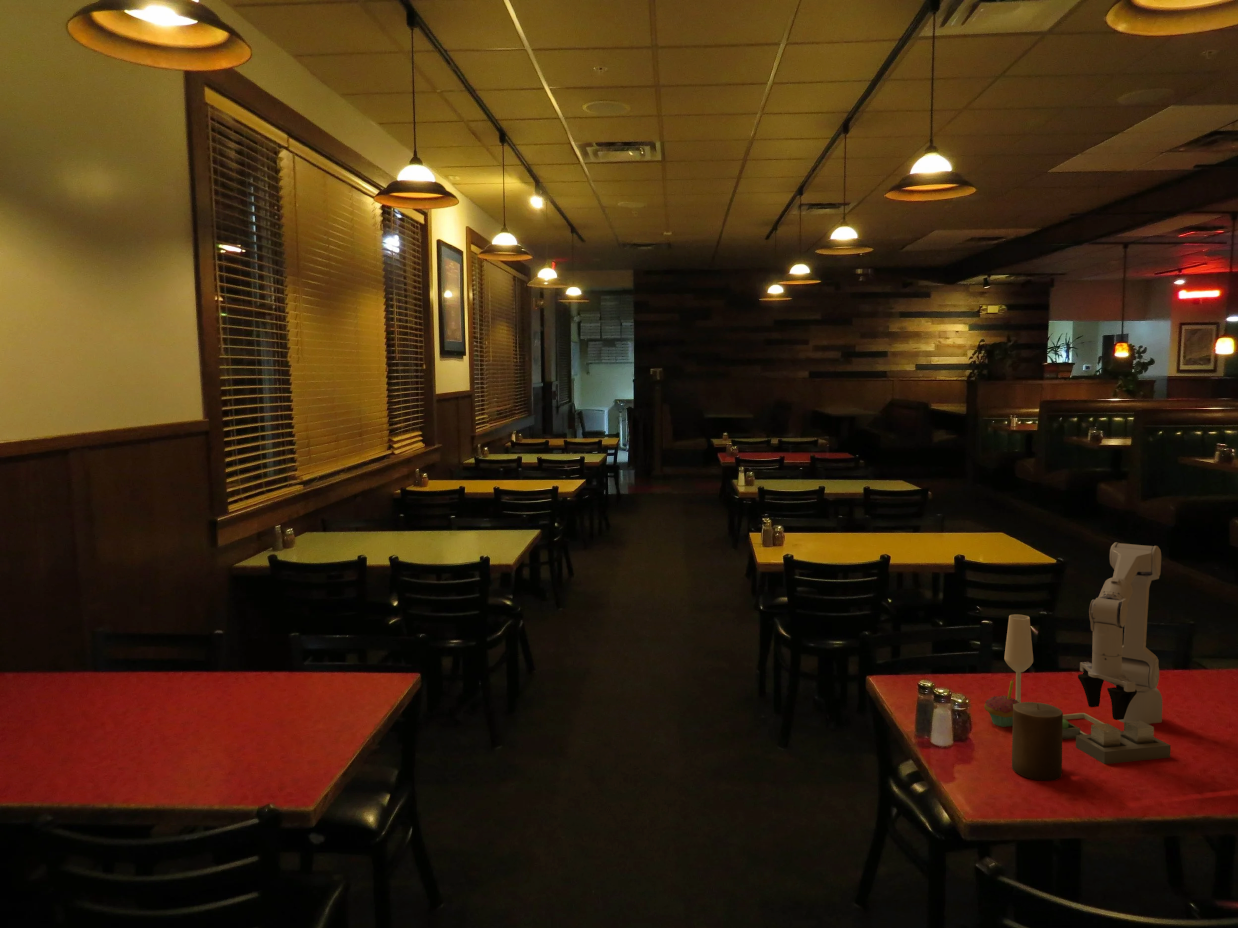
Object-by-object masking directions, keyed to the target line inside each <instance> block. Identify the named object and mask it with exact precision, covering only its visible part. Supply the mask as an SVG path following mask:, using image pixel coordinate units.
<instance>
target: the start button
mask: <svg viewBox="0 0 1238 928" xmlns="http://www.w3.org/2000/svg"><path fill="white" fill-rule="evenodd" d="M1068 724H1069V721H1068V720H1065V719H1063V726H1062V727H1063V728H1062V729H1064V728H1068Z"/></svg>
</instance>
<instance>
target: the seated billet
mask: <svg viewBox="0 0 1238 928" xmlns="http://www.w3.org/2000/svg"><path fill="white" fill-rule="evenodd" d="M1123 731H1124V738H1125V739H1127V740H1129V741H1131V742H1133V743H1134V744H1136V745H1140V744H1150V743H1153V742H1154V737H1155V736H1154V735H1155V726H1152V725H1151V724H1147V723H1145V722H1143V721H1141V720H1137V721H1127V722H1124V723H1123Z"/></svg>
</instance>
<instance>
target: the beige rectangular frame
mask: <svg viewBox="0 0 1238 928" xmlns="http://www.w3.org/2000/svg"><path fill="white" fill-rule="evenodd" d="M1063 719H1065V720H1067V721H1068V720H1076V719H1077V720H1078V719H1085V720H1086V721H1089V722H1090V723H1092V724H1093V725H1094V724H1106V723H1105V722H1103V721H1100V720H1099V719H1097V718H1095V717H1093V716H1091V715H1089V714H1087V713H1085V712H1077V713H1067V714H1063ZM1087 734H1088V733H1085V732H1083V731H1082V730H1080V735H1087Z"/></svg>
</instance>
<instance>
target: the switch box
mask: <svg viewBox="0 0 1238 928" xmlns="http://www.w3.org/2000/svg"><path fill="white" fill-rule="evenodd" d="M1068 722H1069V721H1068ZM1080 731H1081V728H1080V727H1079V726H1077V725H1074V724H1073V723H1071V722H1069V724H1068V728H1064V729H1062V740H1071V739H1072V740H1073V739H1076V735H1080Z"/></svg>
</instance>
